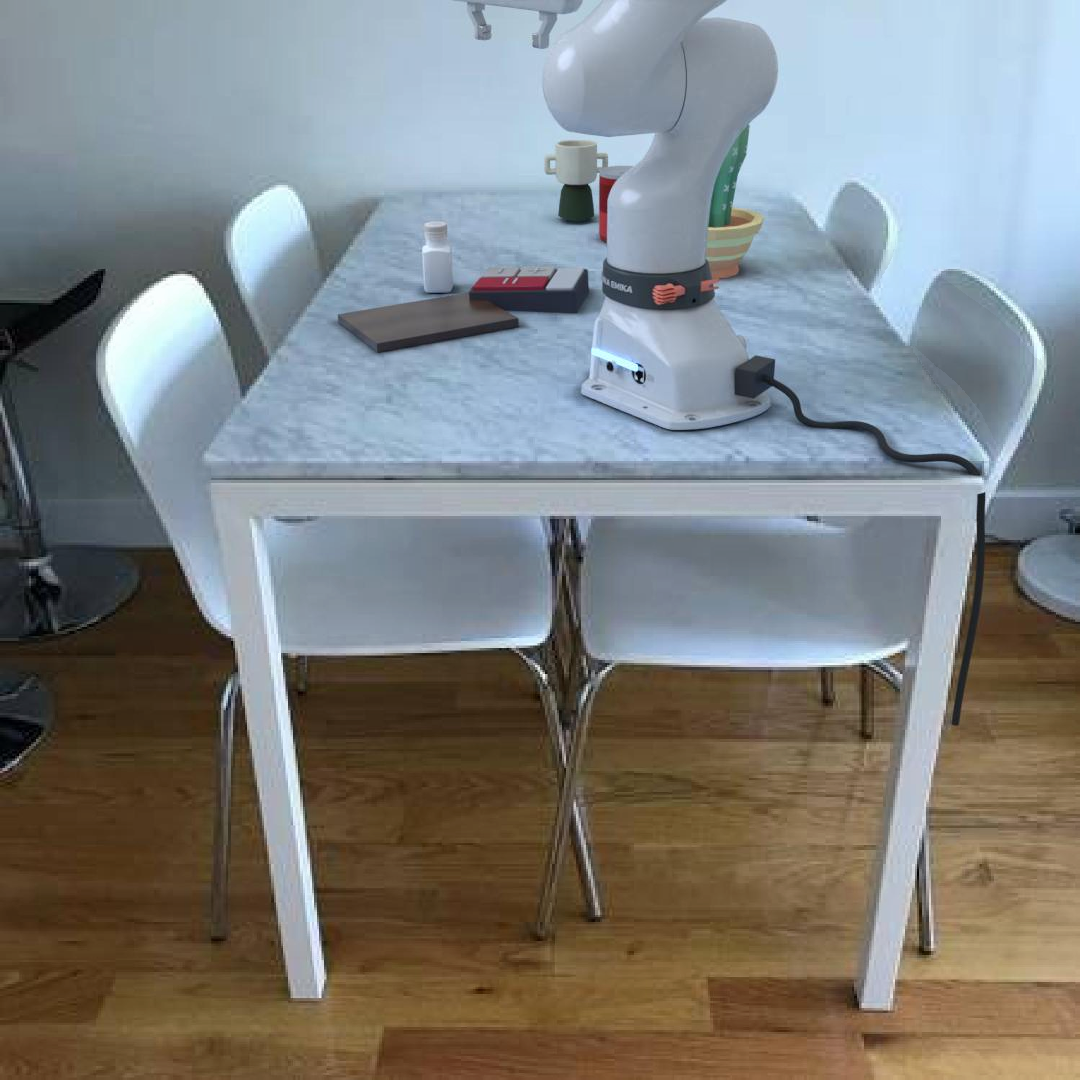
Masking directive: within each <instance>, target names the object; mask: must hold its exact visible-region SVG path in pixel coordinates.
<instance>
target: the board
mask: <svg viewBox="0 0 1080 1080" xmlns="http://www.w3.org/2000/svg"><path fill="white" fill-rule="evenodd" d="M337 322H338V324H339V325H340V326H342V327H343V328H344V329H346V330H347V331H348V332H350V333H351V334H352V335H354V336H355V337H356V338H358V339H359V340H360V341H362V342H363V343H364V344H365V345H367V346H368V347H369V348H370V349H372V350H374V351H375V352H376V353H383V352H389V351H393V350H398V349H399V350H400V349H404V348H410V347H415V346H421V345H426V344H432V343H437V342H444V341H448V340H454V339H458V338H465V337H470V336H475V335H481V334H486V333H487V334H488V333H492V332H497V331H502V330H508V329H513V328H519V327H520V326H519V324H520V323H519V317H517V316H516V315H514V314H512V313H511V312H509V311H506V310H503V309H501V308H500V307H498V306H496V305H494V304H493V303H491V302H489V301H480V300H469V292H463V293H458V294H452V295H445V296H439V297H433V298H426V299H422V300H416V301H408V302H404V303H397V304H390V305H386V306H380V307H373V308H368V309H362V310H357V311H349V312H344V313H338V314H337Z"/></svg>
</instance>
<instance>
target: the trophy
mask: <svg viewBox="0 0 1080 1080" xmlns="http://www.w3.org/2000/svg"><path fill="white" fill-rule="evenodd" d="M554 150H555V154H554V153H553V154H546V155H544V158H543V159H544V160H543V162H544V163H543V165H544V174H545V175H547V176H549V175H550V176H551V175H555V178H556V179H555V180H556V181H557V182H558V183H560V184H563V185H562V187H561V190H560V196H559V204H558V215H557V216H558V217H559V218H560V219H563V220H566V221H567V222H569V221H571V222H583V221H587V220H590V219H592V218H594V216H595V208H594V207H595V206H594V198H593V191H592V188H591V185H590V184H592V183H594V182H596V179H597V177H598V174H600V170H601V169H603V168H605V167H609V154H608V153H606V152H598V142H596V141H593V140H589V139H588V140H587V139H566V140H560V141H557V142H556V143H555V149H554ZM598 160H602V161H601V162H602V164H601V165H602V166H598ZM551 161H555V168H551Z"/></svg>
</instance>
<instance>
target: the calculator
mask: <svg viewBox="0 0 1080 1080" xmlns="http://www.w3.org/2000/svg"><path fill="white" fill-rule="evenodd" d="M589 292H590V283H589V270H588V269H587V268H585V267H582V266H579V267H558V268H557V269H556V266H553V265H552V266H523V267H522V268H521V267H520V266H498V267H497V266H496V267H493V266H492V267H488V268H487V269H486V270H485V271H484V272H483V274H482V275H481V276H480V277H479V278H478V279H477V281H476V282H475V283H474V284H473V285H472V287H471V289H469V291H468V293H469V300H480V301H489V302H491V303H493V304H494V305H496V306H498V307H500V308H501V309H503V310H505V311H507V312H532V313H551V314H573V315H575V314H577V313H578V312H579V310H580V308H581V307H582V305H583V303H584V302H585V300H586V298H587V296H588V295H589Z"/></svg>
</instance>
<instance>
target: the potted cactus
mask: <svg viewBox="0 0 1080 1080" xmlns="http://www.w3.org/2000/svg"><path fill="white" fill-rule="evenodd" d="M750 128H751V125H750V123H749V124H748V125H747V126H746V127H745V129H744V130H743V131H742V132H741V133H740V135H739V136H738V137H737V139H736V140H735V142H734V143H733V145H732V146H731V148H730V150H729V152H728V153H727V155H726V157H725V159H724V161H723V163H722V166H721V168H720V170H719V173H718V175H717V178H716V181H715V185H714V188H713V193H712V198H711V205H710V214H709V223H708V235H707V248H706V259H707V260H708V262H709V265H710V270H711V272H712V277H713V279H727V278H730V277H734V276H737V275H738V273H739V272H740V267H739V263H740V262H741V261H742V260H743V259H744V257H745V256H746V254H747V253H748V251H749V249H750V247H751V245H752V243H753V240H754V237H755V235H756V234H757V235H758V234H759V232H760V230H761V228H762V226H763V222H764V221H765V220H764V219H765V216H763V215H762V214H760V213H758V212H757V211H754V210H751V209H746V208H741V207H735V206H733V205H734V204H733V203H734V199H735V193H736V188H737V182H738V175H739V174H740V170H741V169H742V166H743V164H744V161H745V160H746V157H747V152H748V143H749V136H750Z"/></svg>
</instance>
